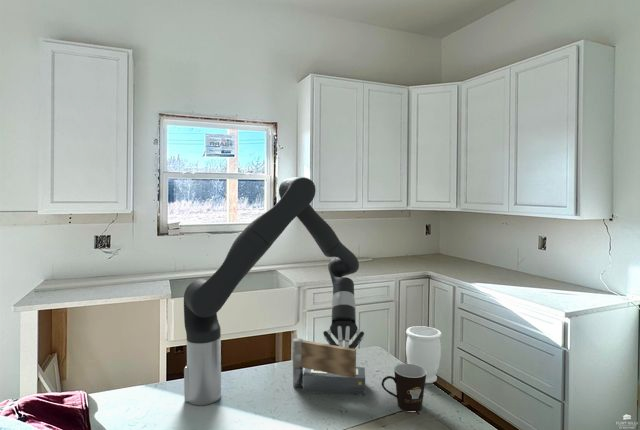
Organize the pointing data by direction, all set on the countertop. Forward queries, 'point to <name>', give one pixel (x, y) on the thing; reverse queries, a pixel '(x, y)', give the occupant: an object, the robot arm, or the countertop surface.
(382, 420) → the countertop surface
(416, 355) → the jar
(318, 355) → the brown wooden board
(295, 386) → the swing post
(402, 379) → the coffee mug
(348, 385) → the case
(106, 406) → the countertop surface
